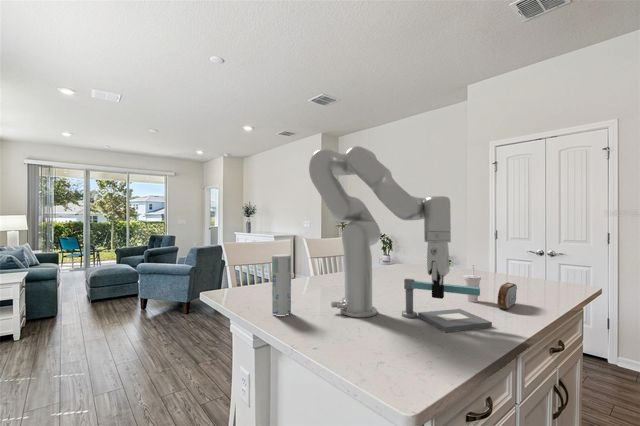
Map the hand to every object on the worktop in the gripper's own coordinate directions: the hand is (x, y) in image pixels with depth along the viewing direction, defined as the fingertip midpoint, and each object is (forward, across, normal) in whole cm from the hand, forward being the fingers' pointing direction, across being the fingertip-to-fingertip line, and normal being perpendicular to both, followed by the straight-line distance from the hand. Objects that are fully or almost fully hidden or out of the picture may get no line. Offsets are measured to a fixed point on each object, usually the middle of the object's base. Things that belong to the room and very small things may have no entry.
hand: (437, 297), depth 95 cm
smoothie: (+9, +36, -6) cm, 37 cm away
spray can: (+9, -15, +48) cm, 51 cm away
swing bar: (-1, +5, 0) cm, 5 cm away
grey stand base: (+8, +6, 0) cm, 10 cm away
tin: (+9, +34, -18) cm, 39 cm away
